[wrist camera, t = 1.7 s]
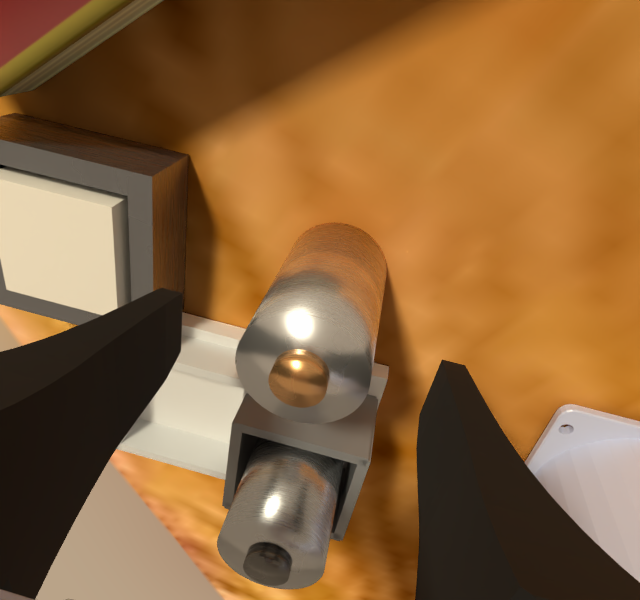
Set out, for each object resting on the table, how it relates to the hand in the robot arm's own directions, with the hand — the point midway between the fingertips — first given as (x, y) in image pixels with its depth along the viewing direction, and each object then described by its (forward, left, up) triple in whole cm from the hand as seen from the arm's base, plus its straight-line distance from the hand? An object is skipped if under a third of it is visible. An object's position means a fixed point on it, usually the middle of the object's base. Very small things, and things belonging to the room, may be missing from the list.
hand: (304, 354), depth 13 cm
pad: (0, +9, -3) cm, 10 cm away
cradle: (0, +9, -5) cm, 10 cm away
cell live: (0, 0, -5) cm, 5 cm away
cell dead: (-7, 0, -5) cm, 9 cm away
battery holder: (-7, +2, -5) cm, 9 cm away
